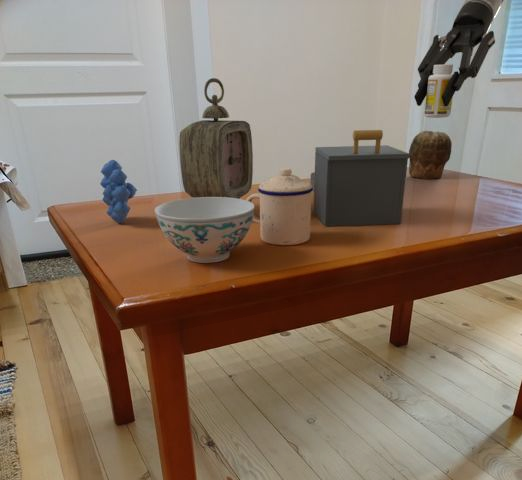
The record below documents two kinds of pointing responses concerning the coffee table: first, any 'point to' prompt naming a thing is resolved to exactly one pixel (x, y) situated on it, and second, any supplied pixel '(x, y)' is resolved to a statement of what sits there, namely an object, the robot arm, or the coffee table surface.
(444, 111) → the supplement bottle
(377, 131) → the chest lid
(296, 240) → the teacup with lid
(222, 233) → the chinaware
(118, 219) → the grapes
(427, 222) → the coffee table surface
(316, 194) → the chest
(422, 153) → the brown rounded lump
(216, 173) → the tabletop clock
